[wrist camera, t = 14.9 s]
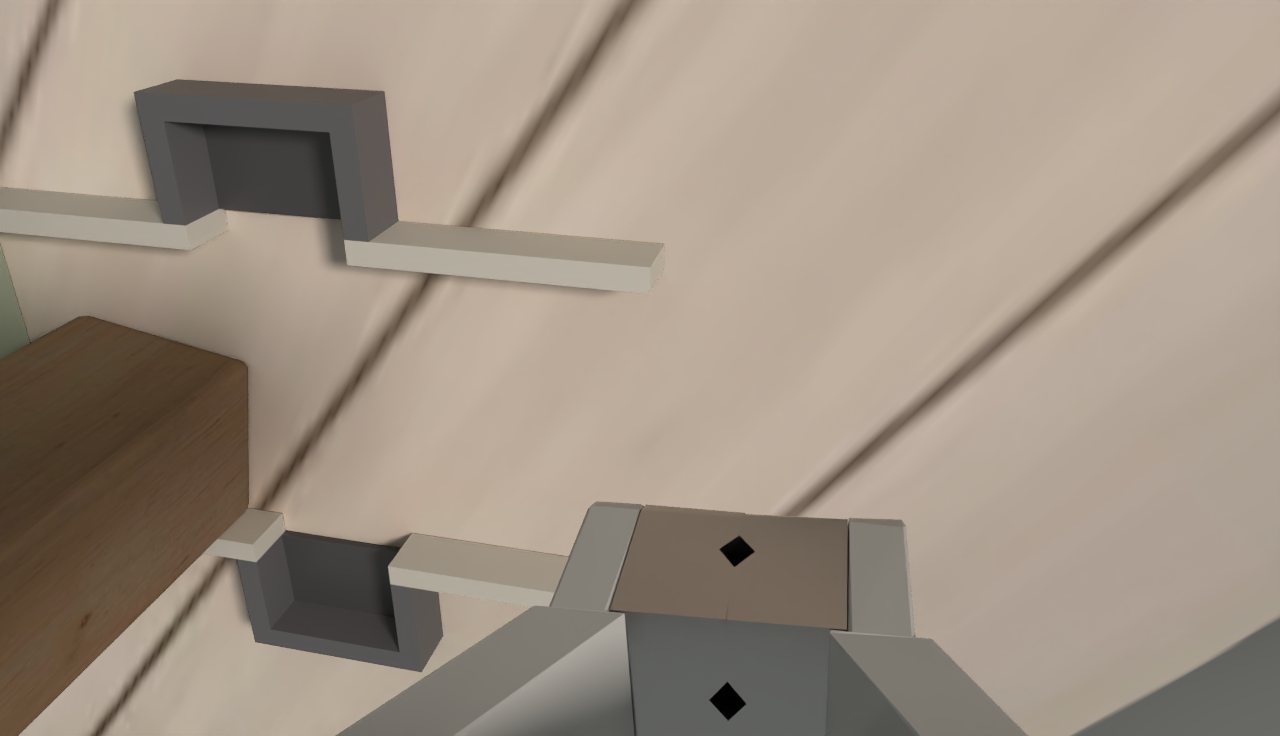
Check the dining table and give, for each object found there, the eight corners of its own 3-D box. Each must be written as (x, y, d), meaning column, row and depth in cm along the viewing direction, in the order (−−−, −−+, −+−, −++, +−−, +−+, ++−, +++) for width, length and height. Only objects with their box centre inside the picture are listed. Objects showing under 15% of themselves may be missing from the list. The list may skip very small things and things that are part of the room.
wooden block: (252, 509, 57) (-31, 791, 39) (97, 460, 58) (-245, 713, 40) (251, 360, 52) (-72, 606, 35) (82, 310, 53) (-313, 524, 36)
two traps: (384, 91, 44) (351, 105, 41) (442, 636, 58) (421, 672, 55) (177, 79, 46) (133, 92, 43) (282, 608, 60) (255, 642, 57)
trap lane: (664, 243, 44) (639, 285, 39) (657, 588, 53) (636, 653, 48) (-37, 184, 51) (-124, 213, 47) (59, 495, 60) (-6, 544, 55)
